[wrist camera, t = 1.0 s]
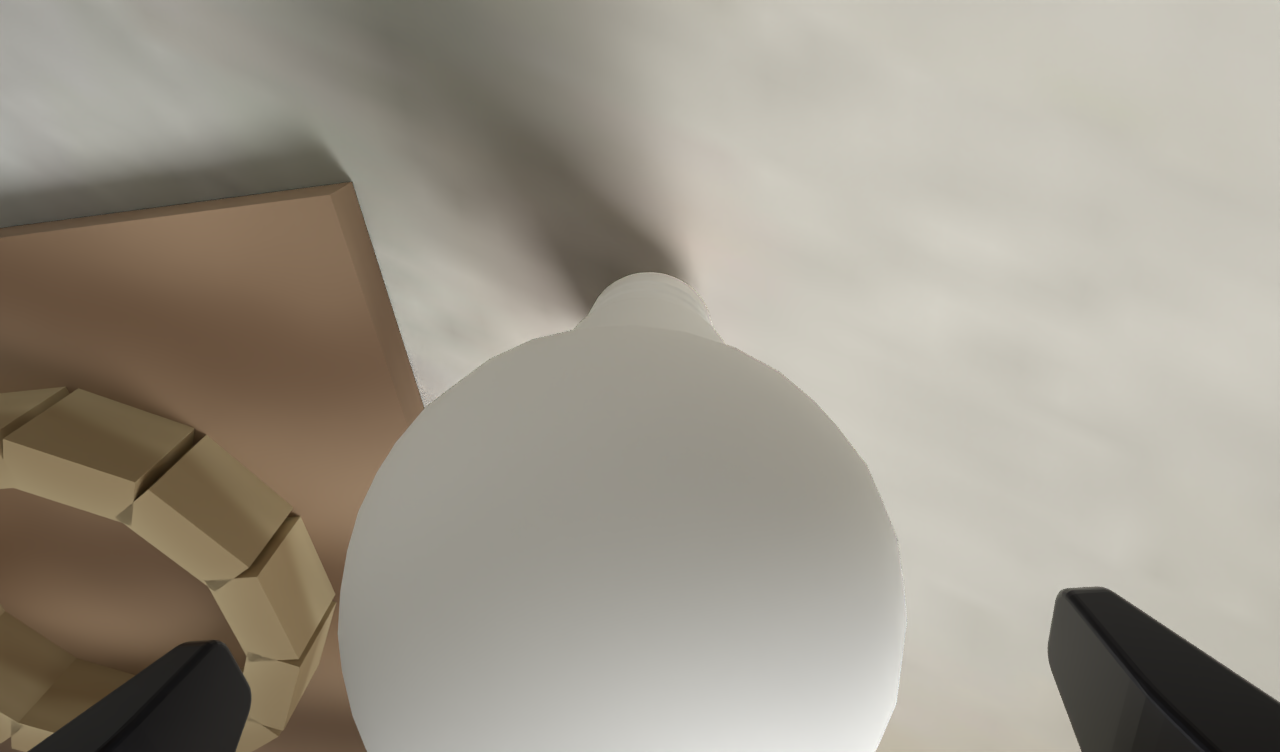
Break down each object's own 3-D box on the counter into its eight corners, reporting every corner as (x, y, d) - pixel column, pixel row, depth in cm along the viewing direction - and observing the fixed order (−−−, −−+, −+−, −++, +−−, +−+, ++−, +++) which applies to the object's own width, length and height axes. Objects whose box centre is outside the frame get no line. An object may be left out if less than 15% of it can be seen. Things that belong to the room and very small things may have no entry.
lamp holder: (529, 738, 22) (508, 840, 20) (29, 759, 24) (-51, 854, 21) (351, 181, 14) (276, 226, 12) (-371, 277, 16) (-576, 334, 14)
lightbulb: (491, 404, 17) (225, 988, 7) (529, 134, 14) (166, 489, 4) (750, 459, 17) (837, 1088, 7) (839, 208, 14) (1181, 694, 4)
